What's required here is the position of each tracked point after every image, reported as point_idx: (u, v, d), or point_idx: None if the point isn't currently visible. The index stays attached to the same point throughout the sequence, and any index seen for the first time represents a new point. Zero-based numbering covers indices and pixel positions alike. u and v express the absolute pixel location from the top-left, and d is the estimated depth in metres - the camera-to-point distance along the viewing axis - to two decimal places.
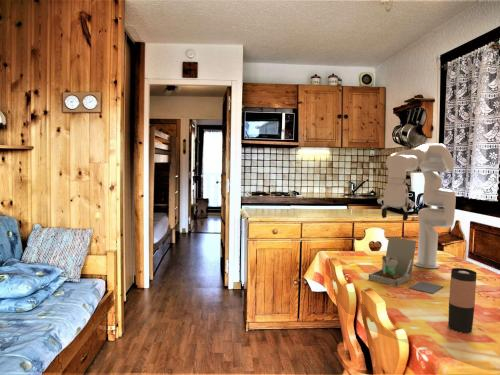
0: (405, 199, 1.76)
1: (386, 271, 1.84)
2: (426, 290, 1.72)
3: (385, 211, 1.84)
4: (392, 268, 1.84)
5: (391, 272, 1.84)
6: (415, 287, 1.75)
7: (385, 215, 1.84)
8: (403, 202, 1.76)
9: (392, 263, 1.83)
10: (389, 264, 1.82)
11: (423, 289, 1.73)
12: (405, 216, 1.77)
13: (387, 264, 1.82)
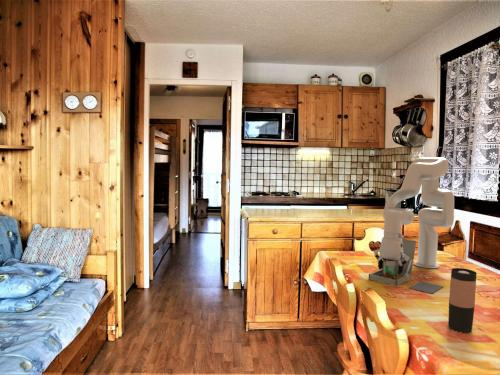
0: (400, 253, 1.83)
1: (386, 271, 1.84)
2: (426, 290, 1.72)
3: (381, 263, 1.91)
4: (392, 268, 1.84)
5: (391, 272, 1.84)
6: (415, 287, 1.75)
7: (381, 266, 1.91)
8: (398, 256, 1.83)
9: (392, 263, 1.83)
10: (389, 264, 1.82)
11: (423, 289, 1.73)
12: (400, 270, 1.84)
13: (387, 264, 1.82)
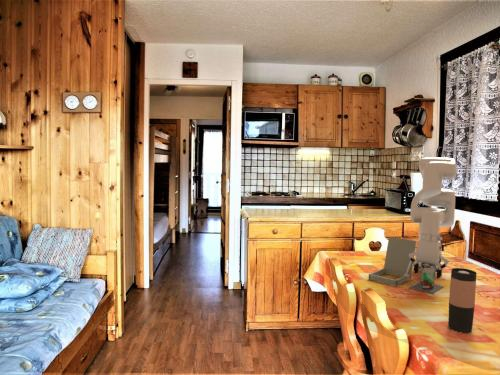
0: (439, 257, 1.71)
1: (424, 278, 1.72)
2: (426, 290, 1.72)
3: (417, 266, 1.79)
4: (431, 275, 1.72)
5: (430, 279, 1.72)
6: (415, 287, 1.75)
7: (417, 270, 1.80)
8: (437, 260, 1.71)
9: (431, 270, 1.71)
10: (427, 271, 1.71)
11: (423, 289, 1.73)
12: (439, 274, 1.72)
13: (425, 271, 1.71)
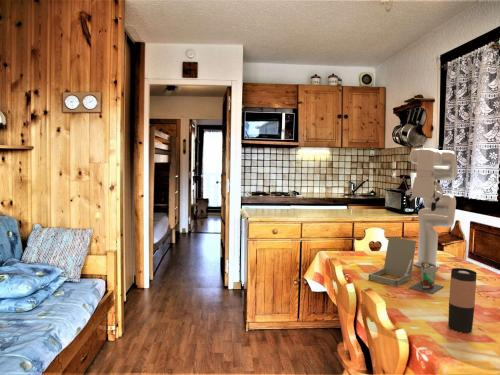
0: (433, 191, 1.86)
1: (424, 278, 1.72)
2: (426, 290, 1.72)
3: (413, 202, 1.94)
4: (431, 275, 1.72)
5: (430, 279, 1.72)
6: (415, 287, 1.75)
7: (413, 206, 1.95)
8: (431, 193, 1.86)
9: (431, 270, 1.71)
10: (427, 271, 1.71)
11: (423, 289, 1.73)
12: (433, 207, 1.87)
13: (425, 271, 1.71)
